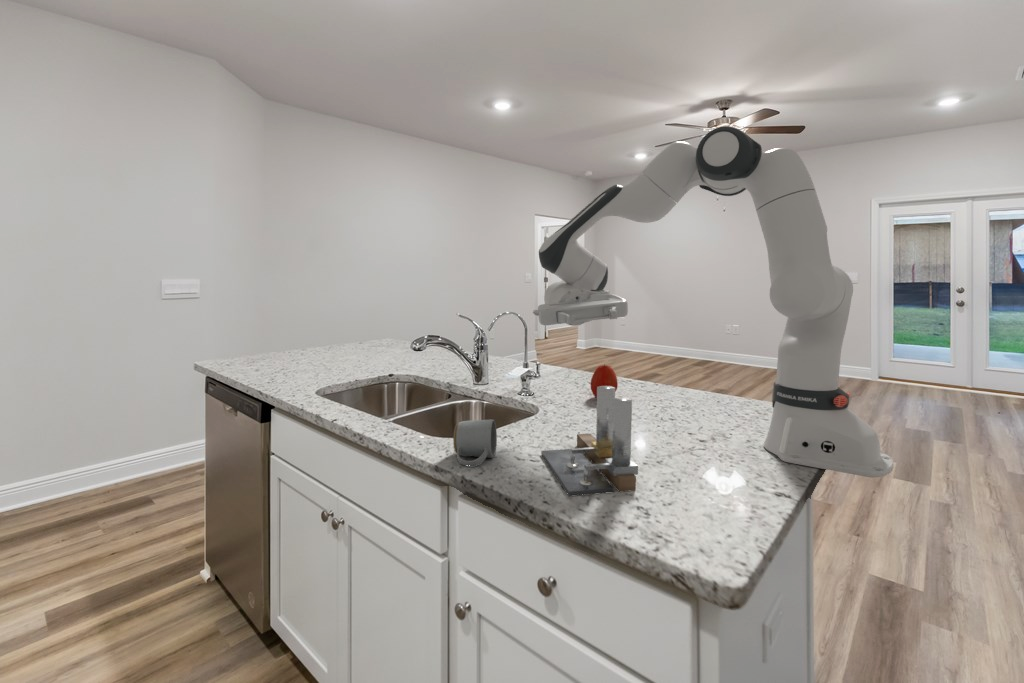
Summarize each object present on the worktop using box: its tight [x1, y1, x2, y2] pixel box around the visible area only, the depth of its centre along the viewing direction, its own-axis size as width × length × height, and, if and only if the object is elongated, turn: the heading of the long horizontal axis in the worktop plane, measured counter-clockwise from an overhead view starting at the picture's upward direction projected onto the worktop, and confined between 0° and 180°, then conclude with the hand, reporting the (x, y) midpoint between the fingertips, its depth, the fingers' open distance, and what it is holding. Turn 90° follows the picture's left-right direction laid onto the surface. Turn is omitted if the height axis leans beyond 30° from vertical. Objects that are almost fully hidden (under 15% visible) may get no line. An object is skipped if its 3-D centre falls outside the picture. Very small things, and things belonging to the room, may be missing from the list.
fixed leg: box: [584, 396, 639, 481], centre depth 87 cm, size 4×9×14 cm, turn 100°
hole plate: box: [540, 448, 615, 497], centre depth 94 cm, size 20×8×1 cm, turn 10°
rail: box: [576, 433, 637, 492], centre depth 97 cm, size 24×3×2 cm, turn 10°
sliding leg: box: [570, 386, 616, 464], centre depth 95 cm, size 4×9×14 cm, turn 100°
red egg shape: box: [590, 363, 619, 399], centre depth 149 cm, size 8×8×11 cm
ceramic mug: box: [452, 419, 498, 467], centre depth 101 cm, size 11×8×8 cm
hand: (592, 317), depth 104 cm, fingers open, 8 cm apart
